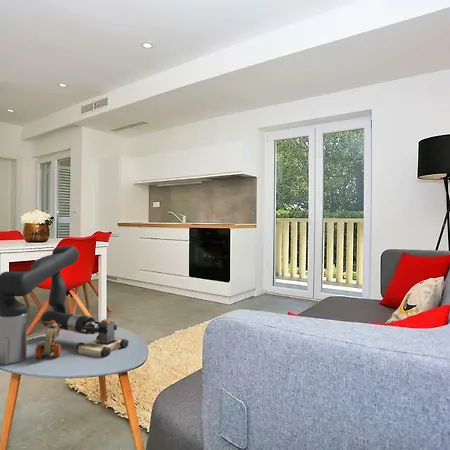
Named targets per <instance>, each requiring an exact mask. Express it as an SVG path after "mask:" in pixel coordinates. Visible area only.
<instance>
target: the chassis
mask: <svg viewBox="0 0 450 450" xmlns="http://www.w3.org/2000/svg"><path fill="white" fill-rule="evenodd" d="M98 340H99V334H98V335H97V336H96V339H95V340H92V341H89V342H87V343H85V342H83V341H82V342H78V343H77V344H76V350H77V352H78V353H79V354H82V355H86V356H87V355H88V356H92V357H97V358H101V357H104V356H105V357H108V356H110V354H111V352H114V351H115V350H119V349H121V348H127V347H128V346H129V343H130V342H129V340H128V339H126V338H122V337H115V336H114V343H111V344H109V345H103V344H98Z"/></svg>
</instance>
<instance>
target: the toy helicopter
mask: <svg viewBox="0 0 450 450" xmlns="http://www.w3.org/2000/svg"><path fill="white" fill-rule="evenodd" d="M42 323H48V324H47V326H46V327H47V328H48V329H47V330H46V333H45V336H44V337H45V338H44V342H43V344H37V345H36V347H35V358H36V359H41V358H42V357H43V356H47V355H48V356H50V355H51V354H52V353H53V357H55V358H57V357H60V355H61V350H62V349H61V347H62V346H61V343H56V338H57V337H59V335H60V334H59V333H60V328H59V326H62V325H60V324H56V322H55V321H54V320H52V321H50V322H41V324H42Z"/></svg>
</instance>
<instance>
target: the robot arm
mask: <svg viewBox="0 0 450 450" xmlns="http://www.w3.org/2000/svg"><path fill="white" fill-rule="evenodd" d="M79 257H80V253H79V250H78V249H77V247H76V246H74V245H64V246H57V247H54V248H53V250H52V253H51V254H49V255H45V256H42V257H40V258H38V259H36V260H35V261H34V262H32V264H31V266H30V269H29V270H27V271H3V272H1V273H0V364H2V365H9V364H16V363H19V362H22V361H24V360H25V359H26V358H27V354H28V353H27V351H28V350H27V347H28V345H27V344H28V338H27V337H28V306H27V304H25V303H23V302H20V301H19V300H18V299H17V298H16V297H24V296H27V295H28V294H30V293H32V291H33V290H35V289H36V288H37V287H38V286H39V285H41V284H42V283H43V282H44V281H46V280H48V279H49V278H50V280H51V281H50V290H49V296H48V306H49V307H51V308H52V309H53V310H47V311H45V312H44V313H43V314H42V315H41V319H40V322H41V324H42V325H43V326H44V327H47V324H48V323H42V322H50V321H52V320H54V321H55V322H56V324H60V325H62V326H59V329H61V330H65V331H68V332H73V333H77V334H82V335H95V334H99V333H104V334H106V333H108V329H107V328H104V327H99V323H100V322H102V320H101V321H100V320H95V319H94V317H92V316H90V315H83V314H73V313H72V314H71V313H67V310H66V309H67V308H66V298H67V285H66V283H65V281H64V278H63V277H62V274H61V271H62V270H64V269H66V268H67V267H70V266H72V265H74V264H76V263H77V261H78V259H79ZM117 330H118V325H117V324H115V331H117Z"/></svg>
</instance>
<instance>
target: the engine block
mask: <svg viewBox="0 0 450 450" xmlns="http://www.w3.org/2000/svg"><path fill="white" fill-rule="evenodd" d="M101 321H102V322H100V323H99V327H104V328H107V329H108V333H106V334H104V333H98V335H99V340H98V344H103V345H109V344H111V343H114V337H115V331H116V330H115V325H116V324H115V323H116V321H113V319H112V318H104V319H101Z"/></svg>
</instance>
